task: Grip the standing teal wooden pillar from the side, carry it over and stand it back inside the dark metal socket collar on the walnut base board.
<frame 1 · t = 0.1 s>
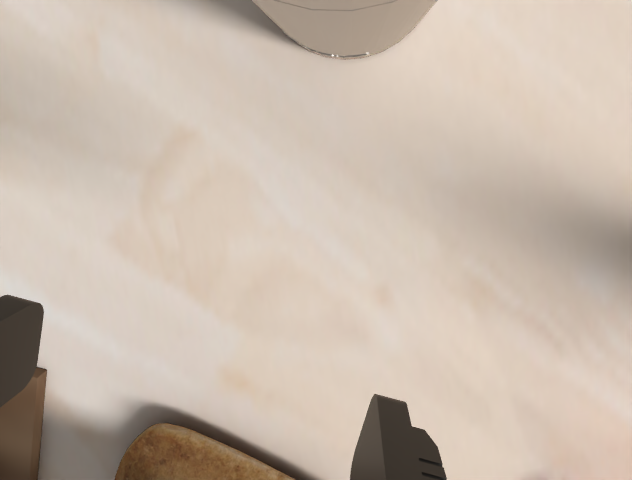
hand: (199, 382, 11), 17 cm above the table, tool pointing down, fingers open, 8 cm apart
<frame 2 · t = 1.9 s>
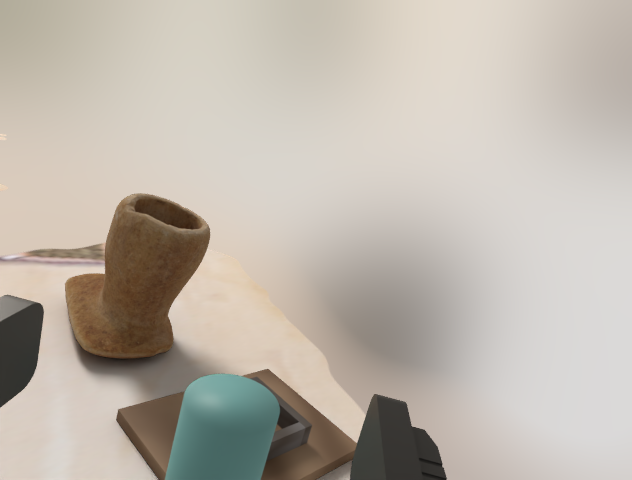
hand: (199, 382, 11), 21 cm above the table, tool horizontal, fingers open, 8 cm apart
brown hollow flared cylinder: (126, 330, 52), on the table
walnut base board: (242, 438, 40), on the table
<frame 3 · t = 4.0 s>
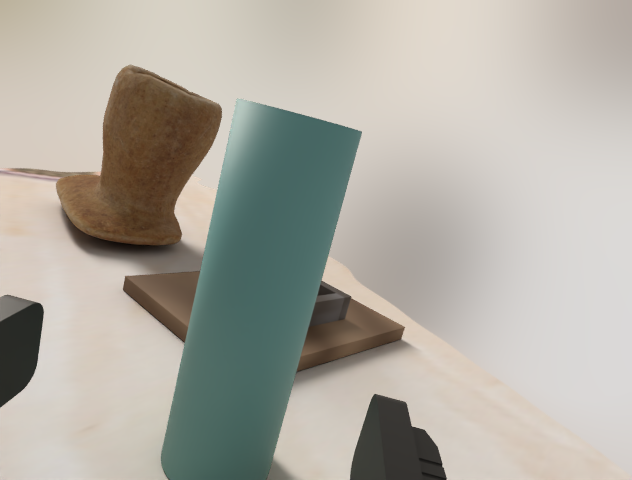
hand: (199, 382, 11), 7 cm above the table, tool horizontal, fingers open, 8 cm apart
brown hollow flared cylinder: (127, 230, 46), on the table
walnut base board: (270, 315, 35), on the table
teal pillar: (216, 458, 20), on the table
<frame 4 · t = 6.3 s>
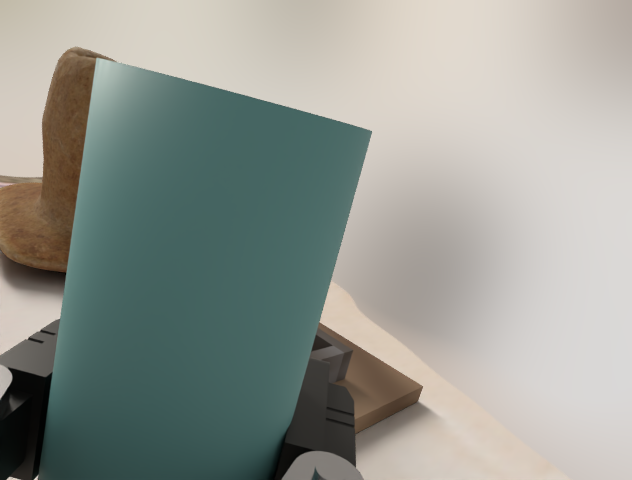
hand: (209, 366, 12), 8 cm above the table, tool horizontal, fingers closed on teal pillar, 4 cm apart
brown hollow flared cylinder: (79, 252, 38), on the table
walnut base board: (245, 374, 26), on the table
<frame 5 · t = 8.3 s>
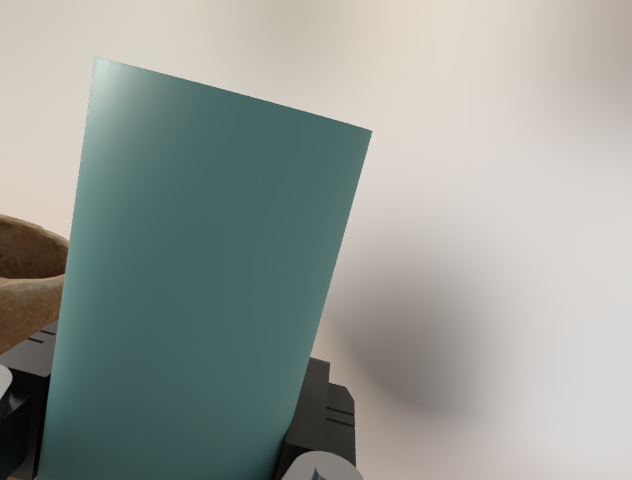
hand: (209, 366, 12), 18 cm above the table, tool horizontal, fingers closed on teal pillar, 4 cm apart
when the fingers open (10 cm above the table, at t = 10.6 s): teal pillar stays where it is, resting on walnut base board.
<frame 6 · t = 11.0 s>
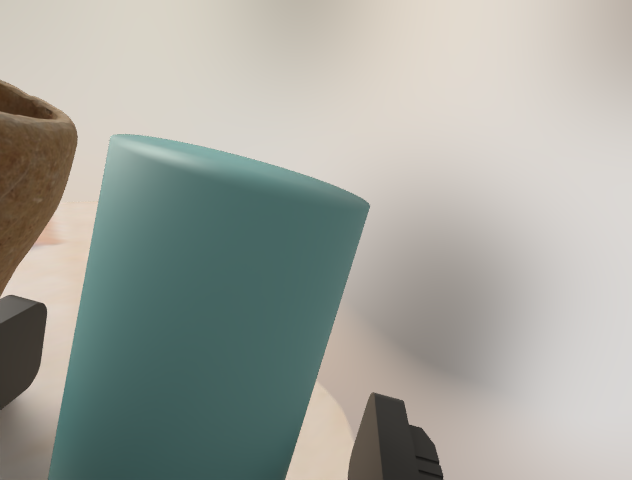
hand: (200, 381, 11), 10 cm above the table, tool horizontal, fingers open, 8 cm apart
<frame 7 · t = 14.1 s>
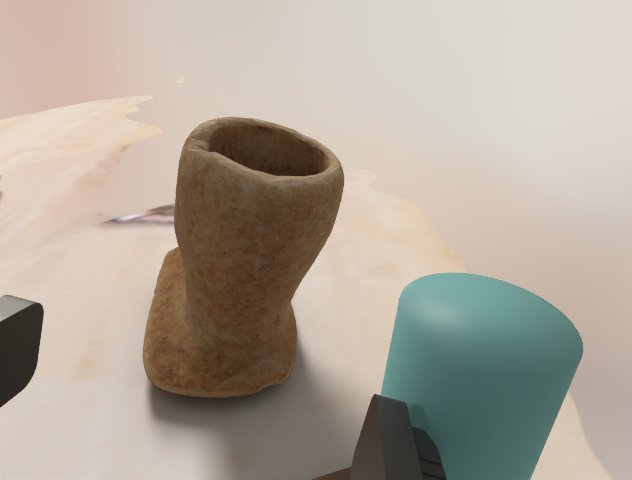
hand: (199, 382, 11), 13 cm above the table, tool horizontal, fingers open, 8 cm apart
brown hollow flared cylinder: (236, 333, 35), on the table
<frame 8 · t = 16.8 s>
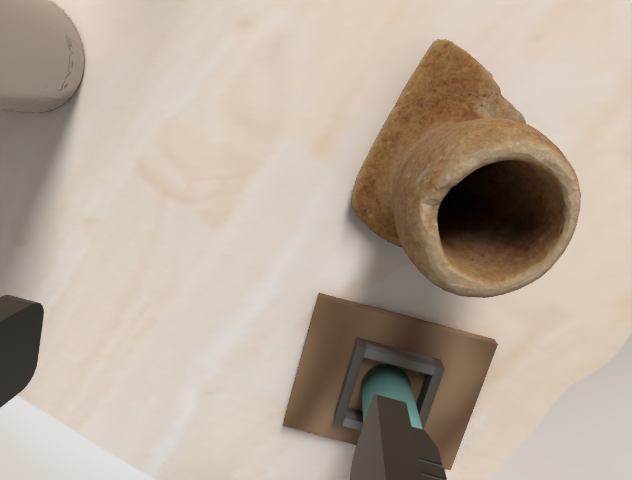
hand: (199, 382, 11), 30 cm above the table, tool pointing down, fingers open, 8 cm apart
brown hollow flared cylinder: (442, 163, 39), on the table
walnut base board: (385, 380, 44), on the table
teal pillar: (385, 386, 43), point 1 cm above the table, touching walnut base board
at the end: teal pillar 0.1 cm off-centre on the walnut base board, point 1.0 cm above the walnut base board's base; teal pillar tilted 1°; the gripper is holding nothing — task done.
